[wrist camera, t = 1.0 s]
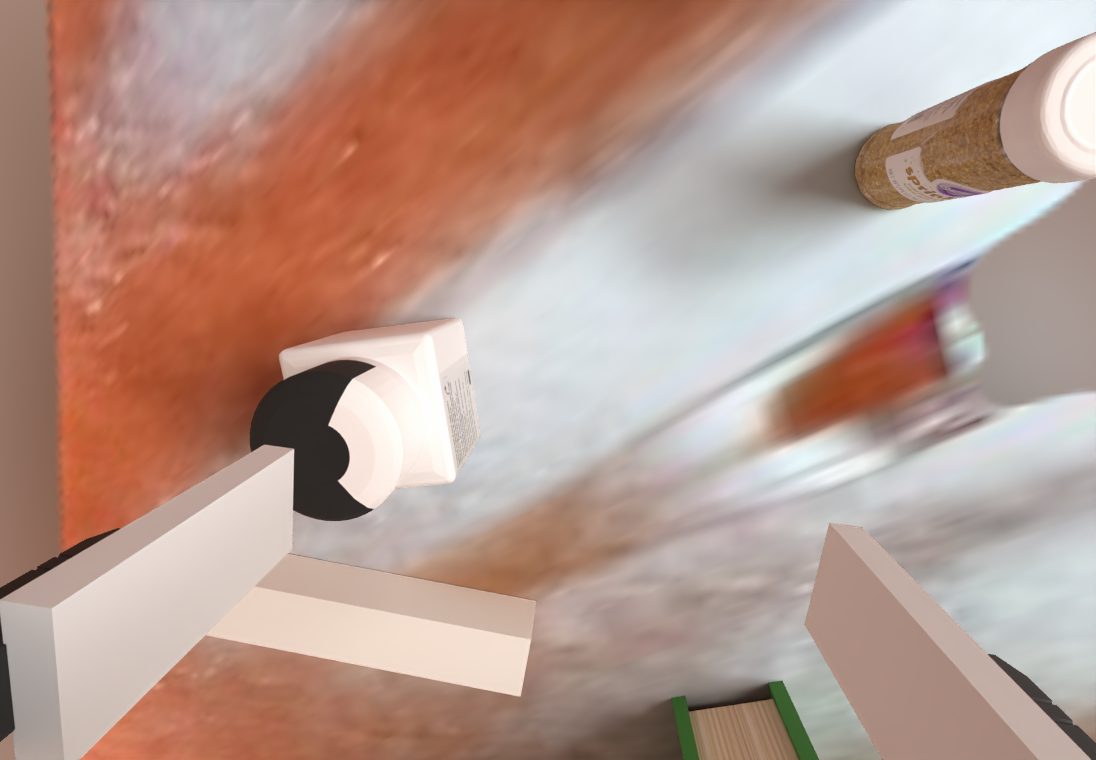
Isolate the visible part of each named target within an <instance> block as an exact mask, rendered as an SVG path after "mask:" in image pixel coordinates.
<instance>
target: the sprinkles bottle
mask: <svg viewBox="0 0 1096 760" xmlns="http://www.w3.org/2000/svg"><path fill="white" fill-rule="evenodd" d="M855 177H856V180H857V184H858V187H859V189H860V190H861V193H862V195H863V196H864V197H865V198H866V199H867V200H869V201H870V202H872V203H873V204H874V205H877V206H878V207H880V208H884V209H887V210H893V209H902V208H906V207H910V206H912V205H915V204H919V203H924V202H925V203H931V202H938V201H944V200H950V199H956V198H961V197H967V196H973V195H979V194H985V193H988V192H991V191H993V190H1000V189H1004V188H1010V187H1015V186H1020V185H1026V184H1032V183H1038V182H1041V181H1043V182H1049V183H1067V182H1075V181H1081V180H1087V179H1092V178H1096V32H1095V33H1092V34H1090V35H1087V36H1084V37H1082V38H1079V39H1077V40H1074V41H1072V42H1070V43H1067V44H1065V45H1063V46H1060V47H1058V48H1056V49H1053V50H1051V51H1050V52H1048V53H1046V54H1044V55H1042V56H1041V57H1039V58H1038V59H1036V60H1035V61H1034V62H1032V63H1031V64H1029V65H1028V66H1026V67H1025V68H1023V69H1021V70H1019V71H1017V72H1014V73H1012V74H1010V75H1007V76H1004V77H1002V78H999V79H996V80H993V81H990V82H987V83H985V84H983V85H980V86H978V87H976V88H974V89H971V90H969V91H967V92H964V93H962V94H960V95H958V96H955V97H953V98H951V99H949V100H946V101H944V102H942V103H940V104H937V105H935V106H933V107H931V108H928V109H926V110H924V111H922V112H919V113H917V114H915V115H913V116H912V117H910V118H909V119H907V120H906V121H904V122H901V123H896V124H891V125H888V126H886V127H884V128H882V129H881V130H879V131H877V132H876V133H875V134H873V135H872V136H871V137H870V138H869V139H868V140H867V142H866V143H865V144H864V145H863V147H862V149H861V151H860V153H859V155H858V157H857V160H856V164H855Z"/></svg>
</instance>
